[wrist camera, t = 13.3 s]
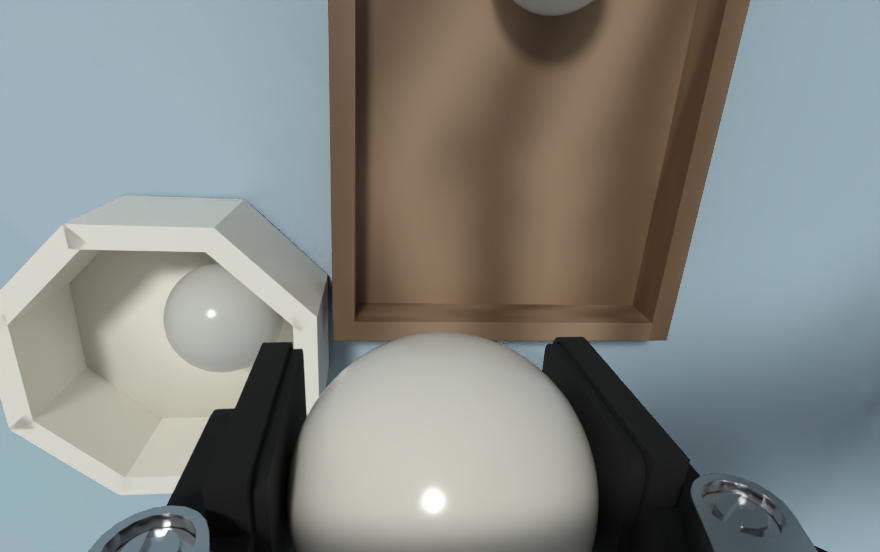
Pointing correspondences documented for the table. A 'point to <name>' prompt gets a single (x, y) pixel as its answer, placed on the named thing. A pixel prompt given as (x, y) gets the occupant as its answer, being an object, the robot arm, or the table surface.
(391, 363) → the pebble
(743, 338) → the table surface
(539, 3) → the pebble
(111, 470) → the bowl
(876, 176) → the table surface
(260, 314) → the white ball
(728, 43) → the tray
